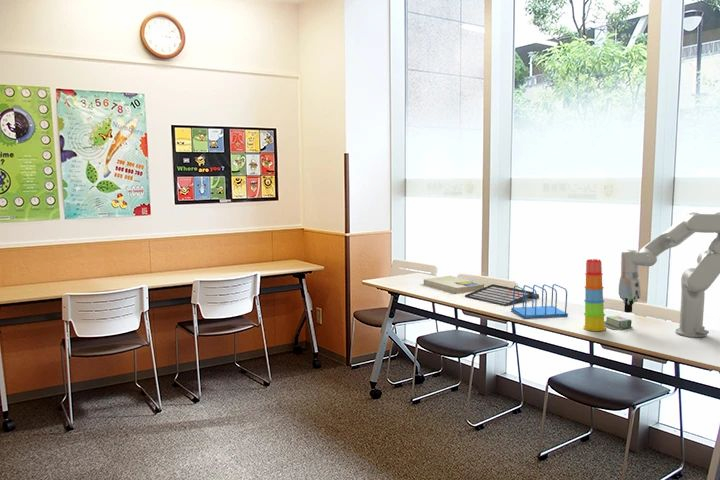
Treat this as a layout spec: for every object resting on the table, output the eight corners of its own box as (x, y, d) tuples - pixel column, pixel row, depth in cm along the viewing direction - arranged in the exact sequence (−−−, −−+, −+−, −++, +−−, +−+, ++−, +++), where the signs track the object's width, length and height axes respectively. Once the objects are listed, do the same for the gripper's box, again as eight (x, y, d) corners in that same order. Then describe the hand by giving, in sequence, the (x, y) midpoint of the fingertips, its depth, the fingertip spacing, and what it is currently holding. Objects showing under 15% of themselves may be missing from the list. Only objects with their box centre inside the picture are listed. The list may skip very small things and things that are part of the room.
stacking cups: (592, 332, 278) (595, 262, 274) (578, 327, 288) (581, 259, 284) (610, 330, 281) (613, 260, 277) (596, 325, 291) (599, 257, 287)
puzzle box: (450, 281, 410) (423, 285, 398) (450, 275, 409) (423, 278, 397) (484, 291, 378) (456, 294, 367) (484, 284, 378) (456, 287, 366)
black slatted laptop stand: (506, 315, 334) (539, 300, 353) (506, 304, 333) (539, 290, 351) (465, 303, 359) (497, 290, 378) (464, 292, 358) (497, 279, 376)
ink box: (620, 321, 282) (601, 314, 295) (619, 328, 283) (601, 322, 296) (631, 319, 284) (612, 313, 297) (631, 327, 285) (612, 321, 298)
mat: (632, 327, 286) (632, 327, 286) (613, 330, 282) (613, 329, 282) (613, 321, 298) (613, 320, 298) (594, 323, 294) (594, 322, 294)
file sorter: (524, 319, 305) (524, 290, 303) (510, 311, 322) (511, 284, 320) (568, 316, 309) (569, 288, 307) (552, 309, 326) (553, 282, 324)
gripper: (647, 277, 274) (646, 314, 276) (624, 272, 288) (623, 308, 290) (634, 278, 272) (633, 316, 274) (612, 273, 286) (611, 309, 288)
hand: (628, 311), depth 282 cm, fingers closed
